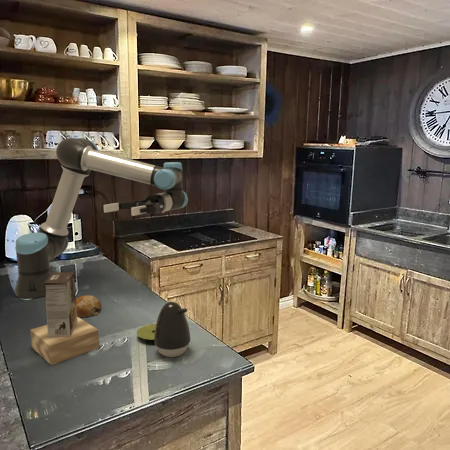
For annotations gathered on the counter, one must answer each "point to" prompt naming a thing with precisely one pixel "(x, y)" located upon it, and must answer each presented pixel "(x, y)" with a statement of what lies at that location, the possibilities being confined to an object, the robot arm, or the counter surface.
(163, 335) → the pump dispenser
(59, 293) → the coffee box
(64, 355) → the oak block
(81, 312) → the bread roll
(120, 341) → the counter surface
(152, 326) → the green textured disc
